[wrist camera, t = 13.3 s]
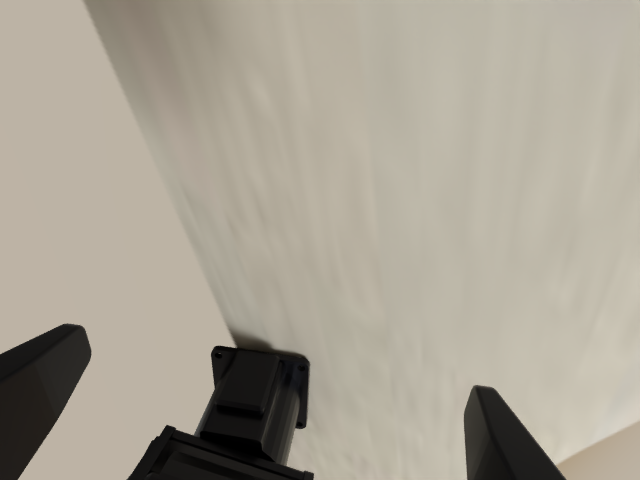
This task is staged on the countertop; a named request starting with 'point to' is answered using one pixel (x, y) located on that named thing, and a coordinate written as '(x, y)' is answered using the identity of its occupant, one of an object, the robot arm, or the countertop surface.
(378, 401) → the countertop surface
